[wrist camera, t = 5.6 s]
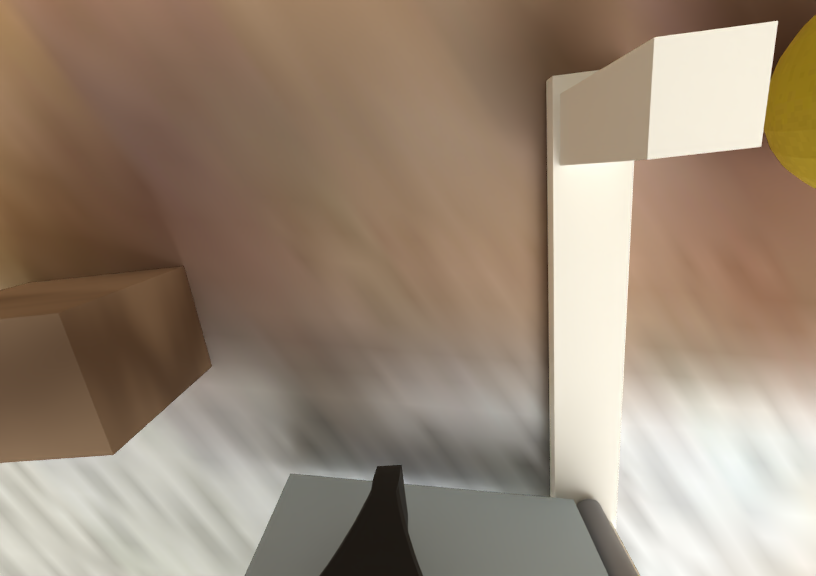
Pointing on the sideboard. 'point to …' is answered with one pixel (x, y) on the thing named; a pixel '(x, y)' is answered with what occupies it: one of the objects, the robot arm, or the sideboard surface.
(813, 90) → the lemon
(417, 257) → the sideboard surface
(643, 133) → the white bracket
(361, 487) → the door
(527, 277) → the sideboard surface
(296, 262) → the sideboard surface
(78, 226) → the sideboard surface
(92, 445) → the brown block
